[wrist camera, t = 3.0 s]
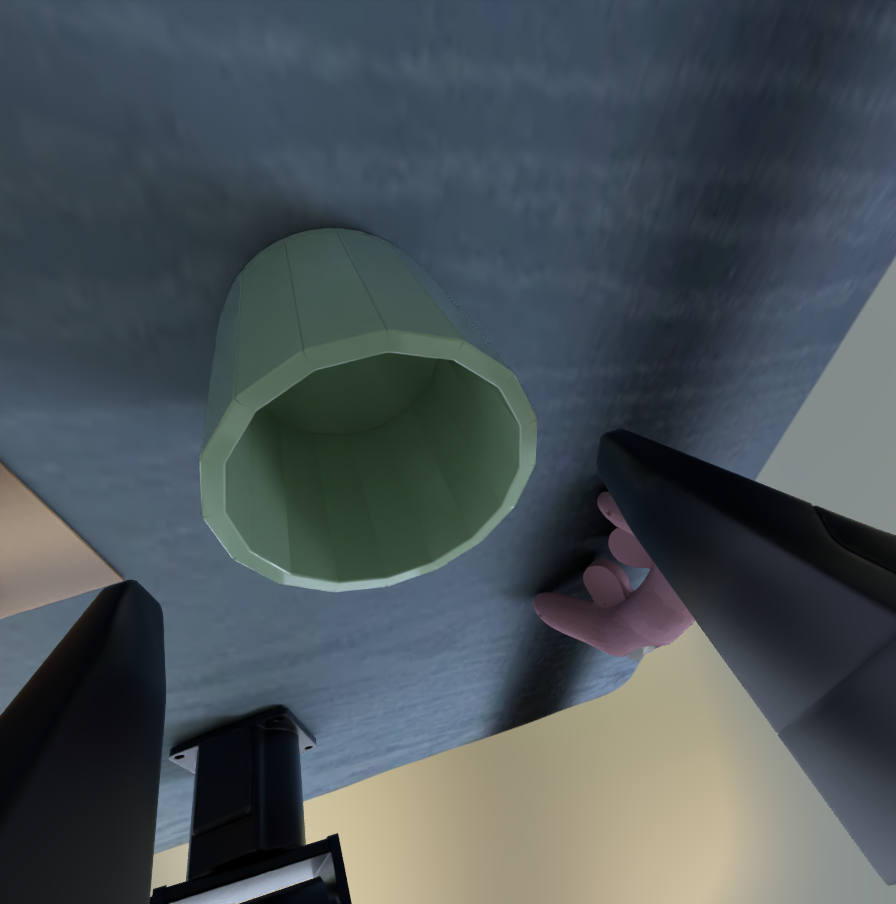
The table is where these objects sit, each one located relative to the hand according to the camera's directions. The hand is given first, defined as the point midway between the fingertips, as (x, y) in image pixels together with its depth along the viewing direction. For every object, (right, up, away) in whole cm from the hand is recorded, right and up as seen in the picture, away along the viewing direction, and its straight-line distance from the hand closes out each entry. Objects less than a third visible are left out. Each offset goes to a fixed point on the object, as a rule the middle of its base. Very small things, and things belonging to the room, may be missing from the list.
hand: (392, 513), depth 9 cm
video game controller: (+10, -4, +18) cm, 21 cm away
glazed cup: (-2, +4, +5) cm, 7 cm away
